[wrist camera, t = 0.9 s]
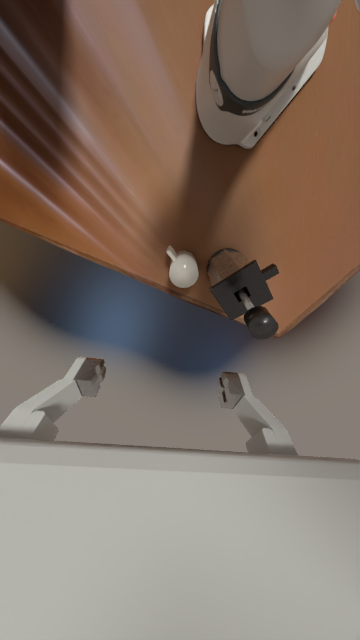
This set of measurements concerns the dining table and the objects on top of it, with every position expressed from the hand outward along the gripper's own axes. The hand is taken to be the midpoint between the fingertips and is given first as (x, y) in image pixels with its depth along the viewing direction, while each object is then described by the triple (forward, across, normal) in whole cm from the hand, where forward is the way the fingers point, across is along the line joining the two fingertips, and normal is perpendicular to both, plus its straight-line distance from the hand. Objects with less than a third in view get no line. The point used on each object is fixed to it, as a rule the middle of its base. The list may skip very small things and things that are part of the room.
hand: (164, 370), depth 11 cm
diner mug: (+44, -2, +6) cm, 45 cm away
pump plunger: (+35, -16, +6) cm, 39 cm away
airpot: (+44, -17, +5) cm, 48 cm away
